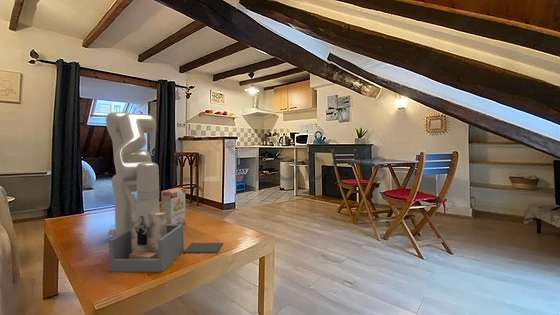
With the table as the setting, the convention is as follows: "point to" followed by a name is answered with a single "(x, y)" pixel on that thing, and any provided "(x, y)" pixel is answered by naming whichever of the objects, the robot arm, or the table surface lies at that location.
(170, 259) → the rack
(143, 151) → the robot arm
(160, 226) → the tall board
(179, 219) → the cracker box
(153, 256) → the upper offcut
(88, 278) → the table surface
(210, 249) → the mat
